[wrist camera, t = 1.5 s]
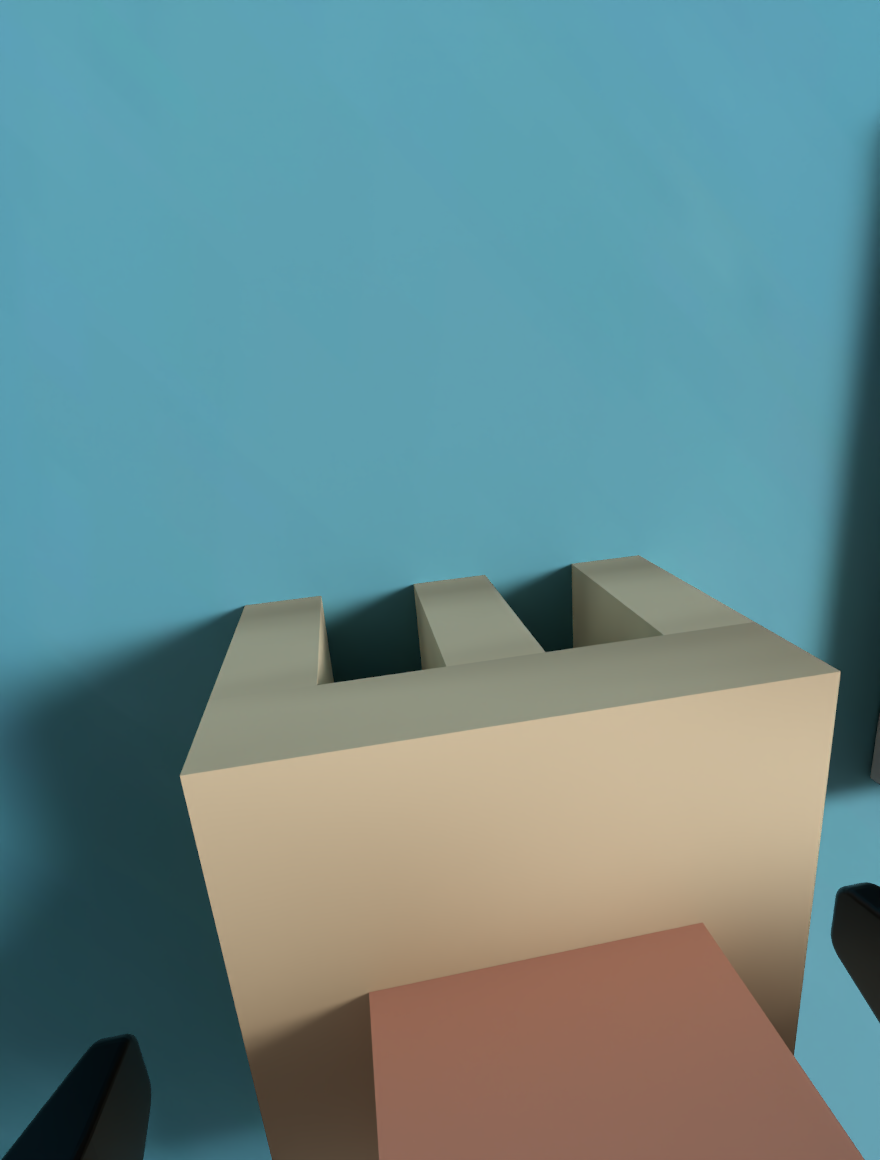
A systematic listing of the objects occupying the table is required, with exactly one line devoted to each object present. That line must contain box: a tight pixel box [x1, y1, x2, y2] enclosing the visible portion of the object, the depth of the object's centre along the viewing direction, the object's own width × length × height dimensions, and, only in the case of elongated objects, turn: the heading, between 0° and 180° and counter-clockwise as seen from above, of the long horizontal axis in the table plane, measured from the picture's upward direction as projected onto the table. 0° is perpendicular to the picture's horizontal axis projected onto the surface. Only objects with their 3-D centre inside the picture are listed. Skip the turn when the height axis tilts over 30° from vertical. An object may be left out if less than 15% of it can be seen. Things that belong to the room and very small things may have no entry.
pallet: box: [180, 555, 841, 1160], centre depth 8 cm, size 9×6×4 cm, turn 5°
